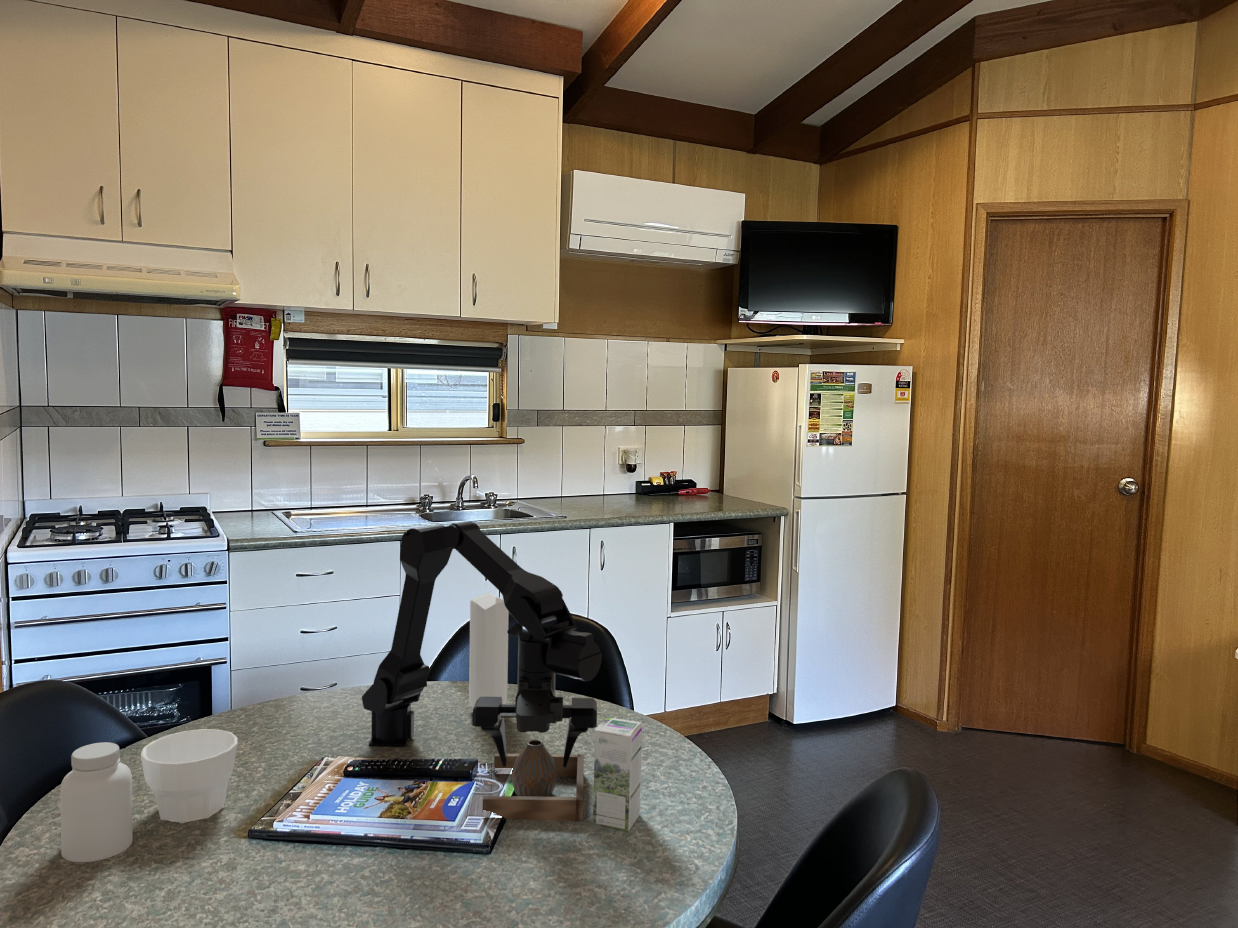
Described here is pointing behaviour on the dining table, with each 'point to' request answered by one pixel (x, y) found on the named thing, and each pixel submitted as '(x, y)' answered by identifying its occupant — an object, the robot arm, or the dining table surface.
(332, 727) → the dining table surface
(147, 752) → the cup
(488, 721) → the robot arm
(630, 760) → the syrup box
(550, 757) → the vase
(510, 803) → the frame
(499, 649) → the crystal
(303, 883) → the dining table surface
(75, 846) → the pill bottle
